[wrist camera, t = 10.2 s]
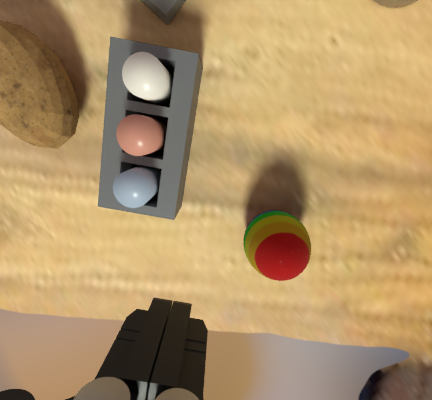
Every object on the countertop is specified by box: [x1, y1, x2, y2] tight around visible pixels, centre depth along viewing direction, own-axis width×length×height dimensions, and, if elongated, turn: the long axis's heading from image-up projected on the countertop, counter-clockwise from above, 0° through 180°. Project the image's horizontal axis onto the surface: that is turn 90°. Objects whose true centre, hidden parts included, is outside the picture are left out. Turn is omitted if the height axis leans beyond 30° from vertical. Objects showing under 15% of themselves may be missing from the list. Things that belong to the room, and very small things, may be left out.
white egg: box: [122, 52, 173, 104], centre depth 28 cm, size 4×4×6 cm
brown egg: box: [116, 114, 167, 156], centre depth 29 cm, size 4×4×6 cm
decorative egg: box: [244, 210, 311, 281], centre depth 33 cm, size 8×8×10 cm
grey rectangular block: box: [98, 37, 203, 220], centre depth 32 cm, size 18×9×6 cm, turn 170°
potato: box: [0, 21, 79, 149], centre depth 30 cm, size 10×14×8 cm
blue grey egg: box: [113, 165, 161, 208], centre depth 31 cm, size 4×4×6 cm
